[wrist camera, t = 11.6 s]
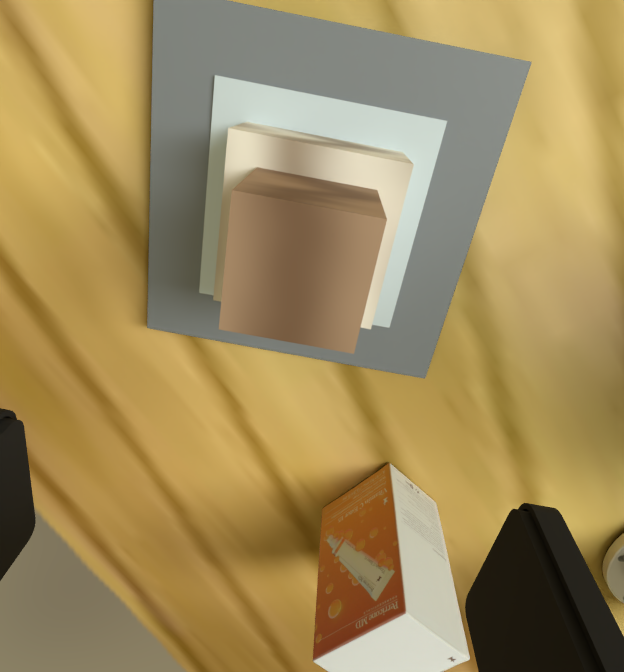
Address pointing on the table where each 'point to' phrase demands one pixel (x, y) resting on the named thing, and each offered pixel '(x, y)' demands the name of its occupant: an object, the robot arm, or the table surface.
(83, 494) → the table surface
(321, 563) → the small box
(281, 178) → the walnut cube
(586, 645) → the robot arm
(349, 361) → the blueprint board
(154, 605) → the table surface
